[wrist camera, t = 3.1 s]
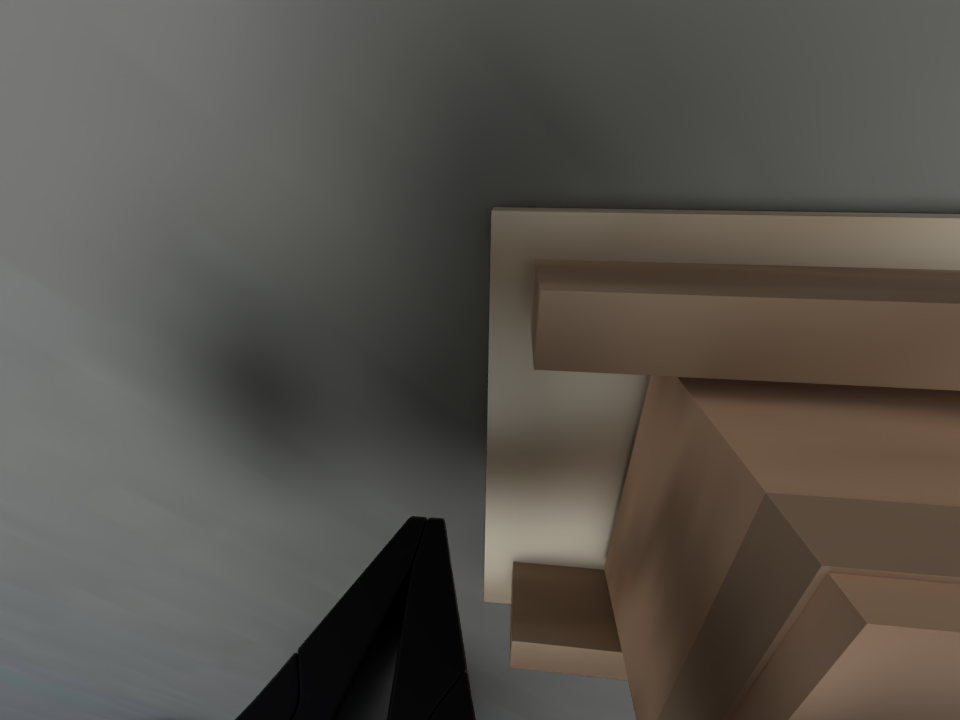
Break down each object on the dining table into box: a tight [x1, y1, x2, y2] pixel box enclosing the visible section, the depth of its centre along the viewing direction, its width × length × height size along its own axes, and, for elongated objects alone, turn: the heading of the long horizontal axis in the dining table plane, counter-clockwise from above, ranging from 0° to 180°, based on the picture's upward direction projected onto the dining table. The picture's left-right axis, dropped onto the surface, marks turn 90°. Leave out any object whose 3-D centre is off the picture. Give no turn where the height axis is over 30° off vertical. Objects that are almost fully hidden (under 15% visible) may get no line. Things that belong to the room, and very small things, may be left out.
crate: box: [604, 375, 960, 720], centre depth 8 cm, size 8×10×6 cm
